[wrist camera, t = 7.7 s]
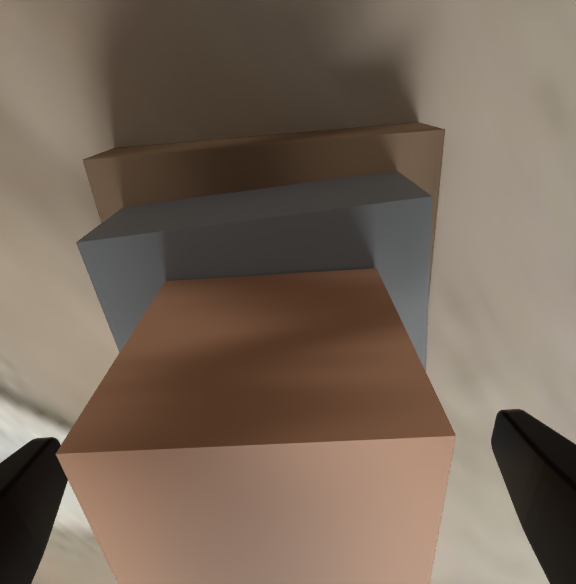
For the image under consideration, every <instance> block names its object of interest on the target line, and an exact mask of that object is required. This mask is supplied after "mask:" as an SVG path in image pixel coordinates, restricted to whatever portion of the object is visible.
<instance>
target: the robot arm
mask: <svg viewBox="0 0 576 584" xmlns="http://www.w3.org/2000/svg"><path fill="white" fill-rule="evenodd" d="M491 445H492V450H493V453H494V455H495V458H496V461H497V463H498V466H499V468H500V471H501V474H502V476H503V479H504V482H505V484H506V487H507V489H508V492H509V495H510V497H511V500H512V503H513V505H514V508H515V510H516V513H517V516H518V518H519V520H520V523H521V525H522V528H523V530H524V532H525V534H526V536H527V538H528V540H529V543H530V545H531V547H532V549H533V551H534V553H535V555H536V557H537V559H538V561H539V563H540V565H541V567H542V569H543V571H544V573H545V575H546V577H547V579H548V581H549V583H550V584H576V444H574V443H573V442H571V441H570V440H568V439H567V438H565V437H563V436H562V435H560V434H559V433H557V432H556V431H554V430H553V429H551V428H550V427H548V426H546V425H545V424H543V423H542V422H540V421H539V420H537V419H536V418H534V417H533V416H531V415H529V414H528V413H526V412H525V411H523V410H520V409H510V410H501V411H499V412H498V413H497V416H496V420H495V425H494V429H493V434H492V438H491ZM60 446H61V445H60V443H59V441H58V440H57V439H56V438H53V437H48V438H36V439H33V440H31V441H30V442H28V443H27V444H26V445H24V446H23V447H22V448H20V449H19V450H18V451H16V452H15V453H13V454H12V455H11V456H9V457H8V458H7V459H5V460H4V461H2V462H1V463H0V584H31V583H32V580H33V578H34V576H35V573H36V571H37V569H38V566H39V564H40V561H41V559H42V556H43V554H44V551H45V548H46V546H47V543H48V540H49V537H50V534H51V531H52V528H53V524H54V521H55V518H56V515H57V512H58V509H59V506H60V503H61V500H62V497H63V494H64V490H65V487H66V484H67V481H68V479H67V477H66V475H65V473H64V470H63V468H62V466H61V464H60V462H59V460H58V458H57V456H56V453H57V451H58V449H59V448H60Z"/></svg>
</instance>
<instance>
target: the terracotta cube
mask: <svg viewBox="0 0 576 584" xmlns="http://www.w3.org/2000/svg"><path fill="white" fill-rule="evenodd" d="M455 438H456V435H455V433H454V431H453V429H452V427H451V424H450V422H449V420H448V418H447V416H446V414H445V412H444V410H443V408H442V405H441V403H440V401H439V399H438V397H437V395H436V393H435V391H434V388H433V386H432V384H431V382H430V380H429V378H428V376H427V374H426V371H425V369H424V367H423V365H422V363H421V361H420V359H419V357H418V355H417V352H416V350H415V348H414V346H413V344H412V342H411V340H410V338H409V335H408V333H407V331H406V329H405V327H404V325H403V323H402V321H401V318H400V316H399V314H398V312H397V310H396V308H395V306H394V304H393V302H392V299H391V297H390V295H389V293H388V291H387V289H386V287H385V285H384V282H383V280H382V278H381V276H380V274H379V272H378V270H377V268H371V269H354V270H338V271H321V272H305V273H288V274H272V275H255V276H238V277H222V278H205V279H189V280H172V281H165V282H164V284H163V285H162V287H161V288H160V290H159V291H158V293H157V295H156V296H155V298H154V299H153V301H152V303H151V304H150V306H149V307H148V309H147V310H146V312H145V314H144V315H143V317H142V318H141V320H140V321H139V323H138V325H137V326H136V328H135V329H134V331H133V333H132V334H131V336H130V337H129V339H128V340H127V342H126V344H125V345H124V347H123V348H122V350H121V351H120V353H119V355H118V356H117V358H116V359H115V361H114V363H113V364H112V366H111V367H110V369H109V370H108V372H107V374H106V375H105V377H104V378H103V380H102V382H101V383H100V385H99V386H98V388H97V389H96V391H95V393H94V394H93V396H92V397H91V399H90V400H89V402H88V404H87V405H86V407H85V408H84V410H83V412H82V413H81V415H80V416H79V418H78V419H77V421H76V423H75V424H74V426H73V427H72V429H71V430H70V432H69V434H68V435H67V437H66V438H65V440H64V442H63V443H62V445H61V446H60V448H59V449H58V451H57V453H56V456H57V458H58V460H59V462H60V464H61V466H62V468H63V470H64V473H65V475H66V477H67V479H68V481H69V483H70V485H71V487H72V489H73V491H74V493H75V495H76V497H77V499H78V501H79V504H80V506H81V508H82V510H83V512H84V514H85V516H86V518H87V520H88V522H89V524H90V526H91V528H92V530H93V533H94V535H95V537H96V539H97V541H98V543H99V545H100V547H101V549H102V551H103V553H104V555H105V557H106V559H107V561H108V564H109V566H110V568H111V570H112V572H113V574H114V576H115V578H116V580H117V582H118V584H430V581H431V575H432V569H433V564H434V558H435V552H436V547H437V541H438V535H439V529H440V524H441V518H442V512H443V507H444V501H445V495H446V490H447V484H448V478H449V472H450V467H451V461H452V455H453V450H454V444H455Z"/></svg>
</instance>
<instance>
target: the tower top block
mask: <svg viewBox="0 0 576 584" xmlns="http://www.w3.org/2000/svg"><path fill="white" fill-rule="evenodd" d="M431 215H432V196H431V195H430V194H428V193H427V192H426V191H424V190H423V189H421V188H420V187H419V186H417V185H416V184H415V183H413V182H412V181H411V180H409V179H408V178H407V177H405V176H404V175H402V174H401V173H400V172H398V171H390V172H383V173H375V174H368V175H360V176H353V177H345V178H338V179H330V180H323V181H315V182H308V183H300V184H293V185H285V186H278V187H270V188H263V189H255V190H248V191H240V192H233V193H225V194H218V195H210V196H203V197H195V198H188V199H180V200H173V201H165V202H157V203H150V204H142V205H135V206H127V207H123V208H121V209H120V210H119V211H117V212H116V213H115V214H113V215H112V216H111V217H109V218H108V219H107V220H105V221H104V222H103V223H101V224H100V225H99V226H97V227H96V228H95V229H93V230H92V231H91V232H89V233H88V234H87V235H86V236H84V237H83V238H82V239H80V240H79V241H78V242H76V243H77V246H78V248H79V251H80V253H81V256H82V259H83V261H84V264H85V266H86V269H87V271H88V274H89V276H90V279H91V281H92V284H93V286H94V289H95V291H96V294H97V296H98V299H99V302H100V304H101V307H102V309H103V312H104V314H105V317H106V319H107V322H108V324H109V327H110V329H111V332H112V334H113V337H114V340H115V342H116V345H117V347H118V350H119V352H120V351H121V350H122V348H123V347H124V345H125V344H126V342H127V340H128V339H129V337H130V336H131V334H132V333H133V331H134V329H135V328H136V326H137V325H138V323H139V321H140V320H141V318H142V317H143V315H144V314H145V312H146V310H147V309H148V307H149V306H150V304H151V303H152V301H153V299H154V298H155V296H156V295H157V293H158V291H159V290H160V288H161V287H162V285H163V284H164V282H165V281H172V280H189V279H205V278H222V277H238V276H255V275H272V274H288V273H305V272H321V271H338V270H354V269H371V268H377V270H378V272H379V274H380V276H381V278H382V280H383V282H384V285H385V287H386V289H387V291H388V293H389V295H390V297H391V299H392V302H393V304H394V306H395V308H396V310H397V312H398V314H399V316H400V318H401V321H402V323H403V325H404V327H405V329H406V331H407V333H408V335H409V338H410V340H411V342H412V344H413V346H414V348H415V350H416V352H417V355H418V357H419V359H420V361H421V363H422V365H423V367H424V369H425V371H426V351H427V323H428V296H429V269H430V242H431Z"/></svg>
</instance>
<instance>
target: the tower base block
mask: <svg viewBox="0 0 576 584" xmlns="http://www.w3.org/2000/svg"><path fill="white" fill-rule="evenodd" d="M444 134H445V129H441V128H438V127H434V126H430V125H427V124H423V123H419V122H417V123H405V124H393V125H382V126H370V127H358V128H346V129H334V130H323V131H311V132H299V133H287V134H275V135H264V136H252V137H240V138H228V139H216V140H205V141H193V142H181V143H169V144H157V145H146V146H134V147H122V148H113V149H111V150H108V151H105V152H103V153H100V154H97V155H94V156H92V157H89V158H86V159H84V160H83V163H84V166H85V170H86V173H87V176H88V179H89V183H90V186H91V189H92V193H93V196H94V199H95V203H96V206H97V209H98V212H99V216H100V219H101V222H102V223H103V222H104V221H105V220H107V219H108V218H109V217H111V216H112V215H113V214H115V213H116V212H117V211H119V210H120V209H121V208H123V207H127V206H135V205H142V204H150V203H157V202H165V201H173V200H180V199H188V198H195V197H203V196H210V195H218V194H225V193H233V192H240V191H248V190H255V189H263V188H270V187H278V186H285V185H293V184H300V183H308V182H315V181H323V180H330V179H338V178H345V177H353V176H360V175H368V174H375V173H383V172H390V171H398V172H400V173H401V174H402V175H404V176H405V177H407V178H408V179H409V180H411V181H412V182H413V183H415V184H416V185H417V186H419V187H420V188H421V189H423V190H424V191H426V192H427V193H428V194H430V195H431V196H432V215H431V242H430V269H429V291H430V280H431V270H432V259H433V249H434V239H435V228H436V218H437V207H438V197H439V186H440V176H441V166H442V155H443V145H444ZM428 301H429V296H428Z"/></svg>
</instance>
